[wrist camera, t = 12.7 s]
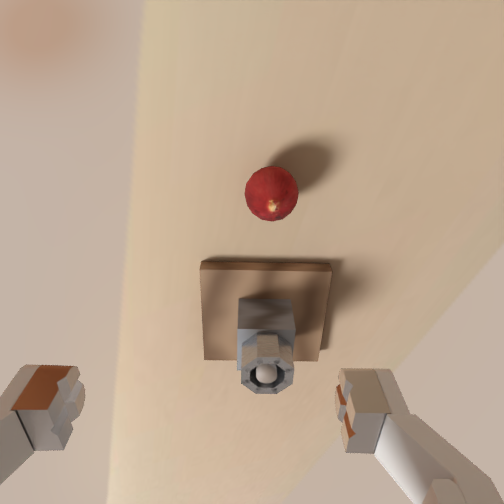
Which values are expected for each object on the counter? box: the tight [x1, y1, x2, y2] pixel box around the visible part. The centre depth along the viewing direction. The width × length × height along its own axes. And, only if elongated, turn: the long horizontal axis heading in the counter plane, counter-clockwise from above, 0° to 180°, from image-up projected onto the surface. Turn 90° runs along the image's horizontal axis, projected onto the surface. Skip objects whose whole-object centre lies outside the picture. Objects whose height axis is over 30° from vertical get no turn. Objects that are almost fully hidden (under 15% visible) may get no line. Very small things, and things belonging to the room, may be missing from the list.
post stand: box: [200, 261, 332, 383], centre depth 48 cm, size 17×16×12 cm
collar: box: [241, 332, 294, 394], centre depth 44 cm, size 6×6×4 cm
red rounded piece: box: [245, 166, 298, 221], centre depth 40 cm, size 6×6×8 cm
